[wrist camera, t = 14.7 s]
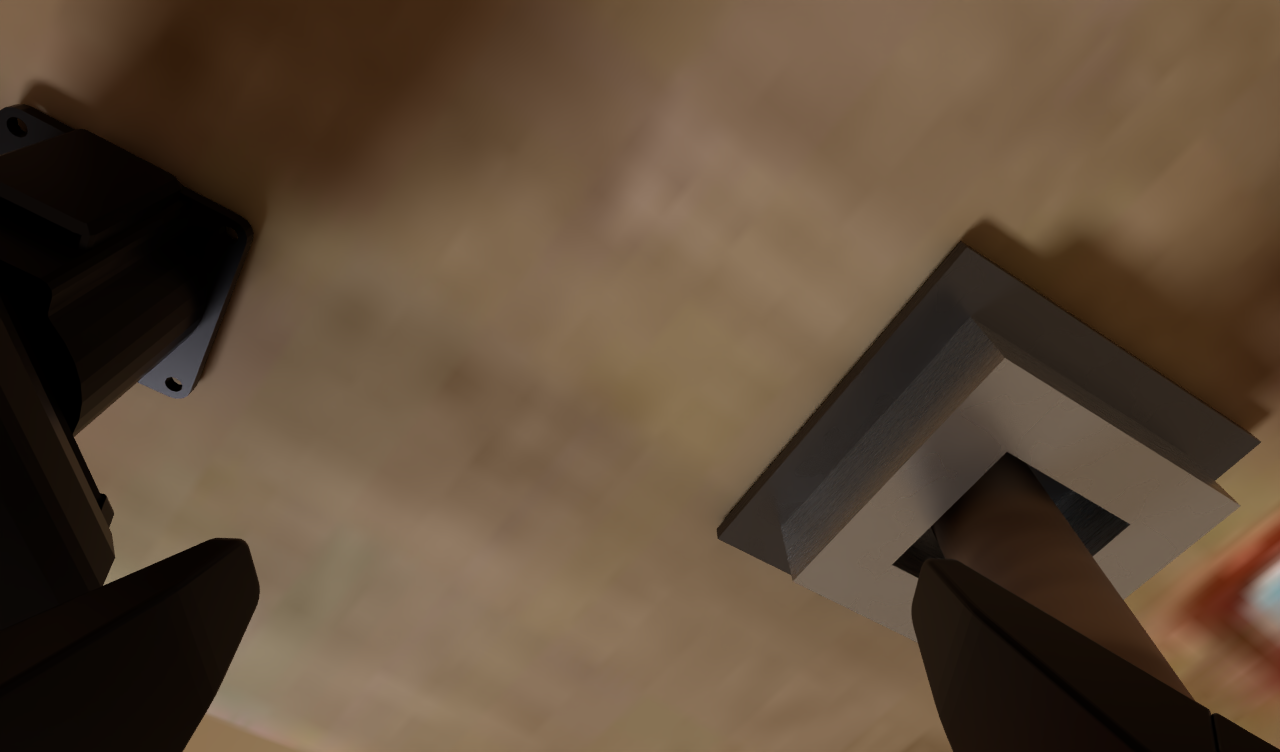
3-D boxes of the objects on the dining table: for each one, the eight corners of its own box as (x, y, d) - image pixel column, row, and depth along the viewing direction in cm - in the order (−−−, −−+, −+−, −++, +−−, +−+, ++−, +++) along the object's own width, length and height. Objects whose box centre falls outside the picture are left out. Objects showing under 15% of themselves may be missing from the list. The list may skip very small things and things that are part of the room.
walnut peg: (957, 550, 26) (1299, 1237, 13) (899, 488, 25) (1205, 1173, 11) (1052, 495, 25) (1547, 1184, 11) (996, 427, 24) (1472, 1106, 10)
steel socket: (980, 660, 30) (1013, 730, 27) (716, 529, 27) (723, 593, 24) (1250, 433, 25) (1321, 491, 22) (960, 240, 22) (1003, 282, 19)
